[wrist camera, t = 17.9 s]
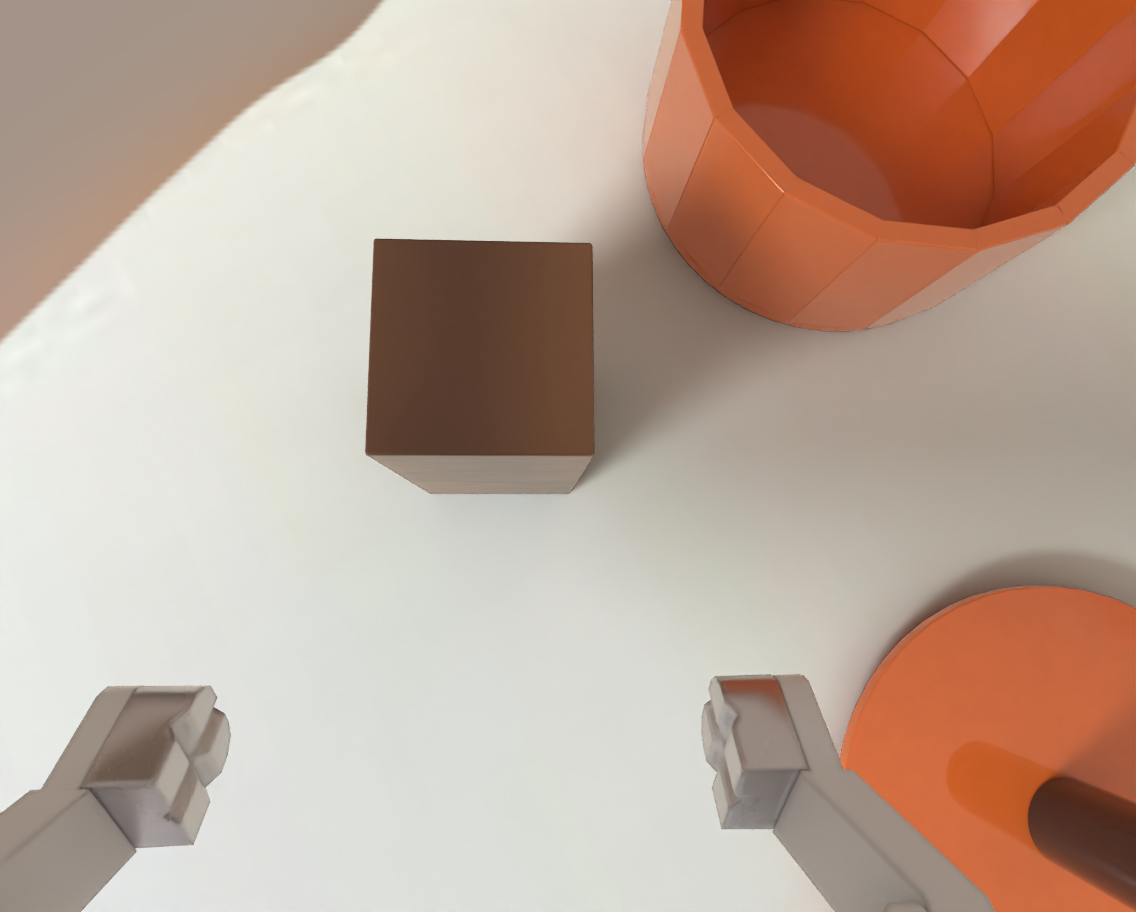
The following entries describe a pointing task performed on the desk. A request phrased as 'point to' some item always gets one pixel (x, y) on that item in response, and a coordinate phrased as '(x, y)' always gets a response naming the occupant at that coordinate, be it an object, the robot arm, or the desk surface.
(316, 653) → the desk surface
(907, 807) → the pan lid
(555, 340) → the block
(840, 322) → the pan
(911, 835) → the robot arm
